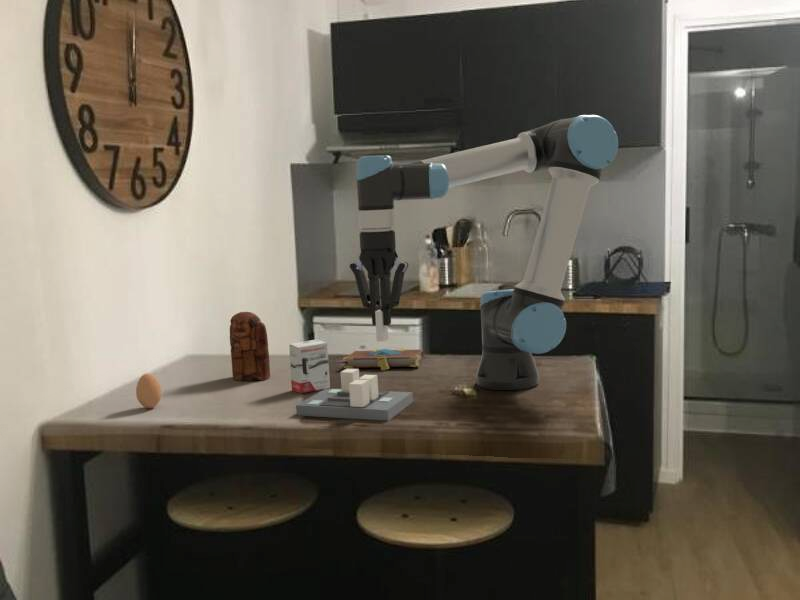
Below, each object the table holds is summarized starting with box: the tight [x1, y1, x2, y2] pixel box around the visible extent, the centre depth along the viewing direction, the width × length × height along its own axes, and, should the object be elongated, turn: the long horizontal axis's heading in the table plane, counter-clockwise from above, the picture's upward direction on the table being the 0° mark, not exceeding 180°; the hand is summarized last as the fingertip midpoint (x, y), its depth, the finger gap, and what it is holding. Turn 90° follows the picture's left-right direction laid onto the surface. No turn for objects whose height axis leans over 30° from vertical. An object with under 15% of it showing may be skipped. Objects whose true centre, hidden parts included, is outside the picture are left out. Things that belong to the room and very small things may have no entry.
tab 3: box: [359, 374, 379, 399], centre depth 189 cm, size 3×4×5 cm
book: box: [337, 347, 424, 371], centre depth 235 cm, size 16×25×5 cm, turn 82°
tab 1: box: [340, 368, 360, 392], centre depth 196 cm, size 3×4×5 cm
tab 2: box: [349, 380, 370, 407], centre depth 184 cm, size 3×4×5 cm
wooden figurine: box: [229, 311, 271, 382], centre depth 225 cm, size 12×6×18 cm, turn 73°
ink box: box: [288, 339, 331, 394], centre depth 211 cm, size 8×5×12 cm, turn 123°
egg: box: [135, 373, 162, 409], centre depth 201 cm, size 6×6×8 cm
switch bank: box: [295, 388, 414, 422], centre depth 191 cm, size 22×15×3 cm
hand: (382, 340), depth 181 cm, fingers closed
